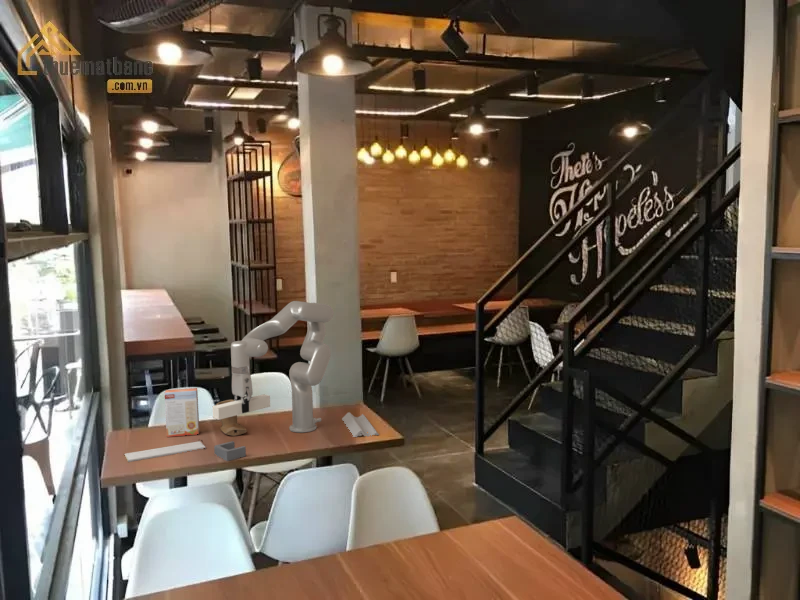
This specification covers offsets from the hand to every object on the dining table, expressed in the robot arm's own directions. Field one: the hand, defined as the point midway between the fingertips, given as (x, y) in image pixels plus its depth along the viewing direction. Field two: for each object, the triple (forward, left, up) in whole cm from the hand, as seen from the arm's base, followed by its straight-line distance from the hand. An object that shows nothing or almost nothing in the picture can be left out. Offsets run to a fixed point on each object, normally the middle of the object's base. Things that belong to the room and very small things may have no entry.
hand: (242, 410), depth 285 cm
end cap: (+11, +9, -15) cm, 21 cm away
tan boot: (-5, -19, -15) cm, 25 cm away
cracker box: (+12, -32, -15) cm, 38 cm away
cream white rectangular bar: (0, 0, -1) cm, 1 cm away
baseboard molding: (+28, -15, -16) cm, 36 cm away
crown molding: (-53, +16, -16) cm, 57 cm away
